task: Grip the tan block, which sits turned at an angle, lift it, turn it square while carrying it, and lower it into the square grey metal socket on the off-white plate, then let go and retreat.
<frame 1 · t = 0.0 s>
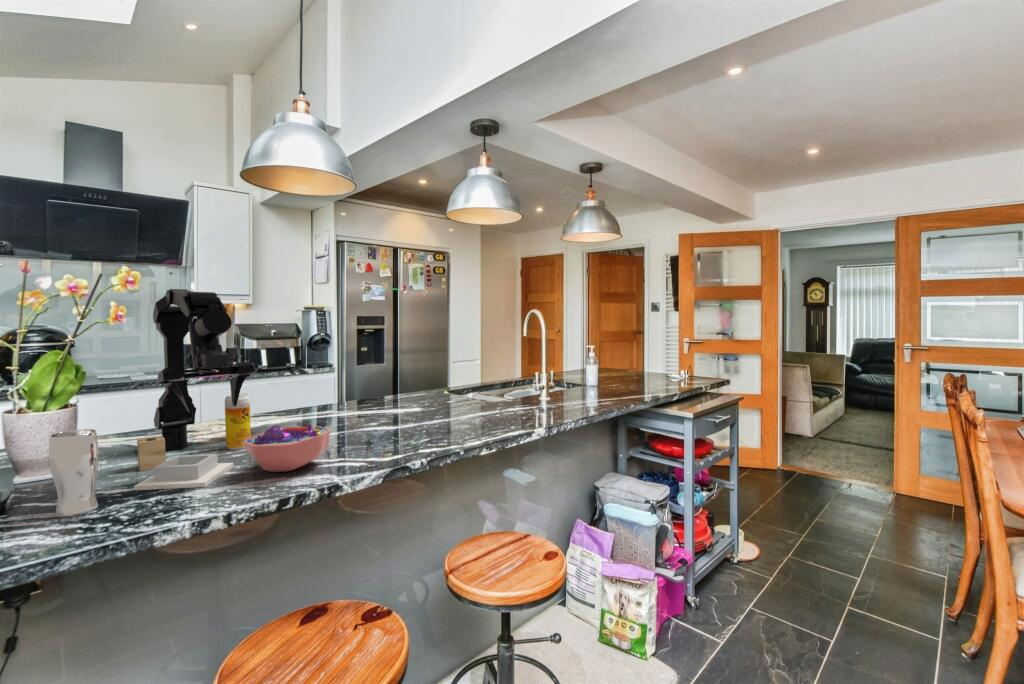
hand: (213, 409, 111), 15 cm above the countertop, tool pointing down, fingers open, 9 cm apart
tan block: (152, 466, 117), on the countertop
socket plate: (187, 477, 109), on the countertop
beer glass: (77, 511, 91), on the countertop
cell model: (289, 468, 116), on the countertop
beer can: (239, 448, 134), on the countertop
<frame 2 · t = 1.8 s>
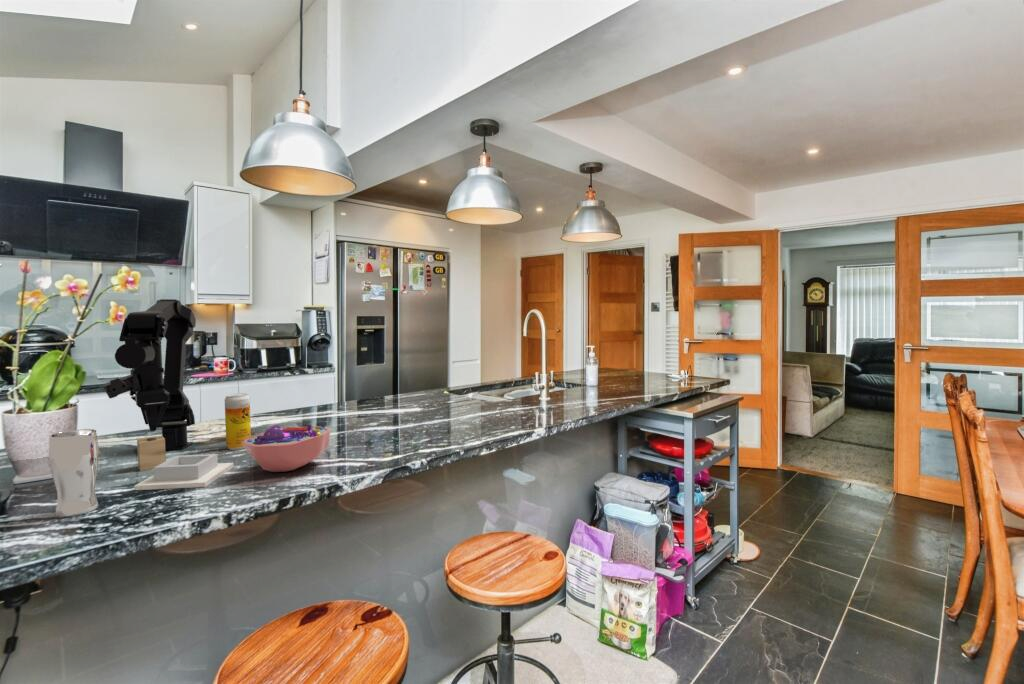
hand: (150, 427, 117), 10 cm above the countertop, tool pointing down, fingers open, 9 cm apart
nothing on the countertop moved.
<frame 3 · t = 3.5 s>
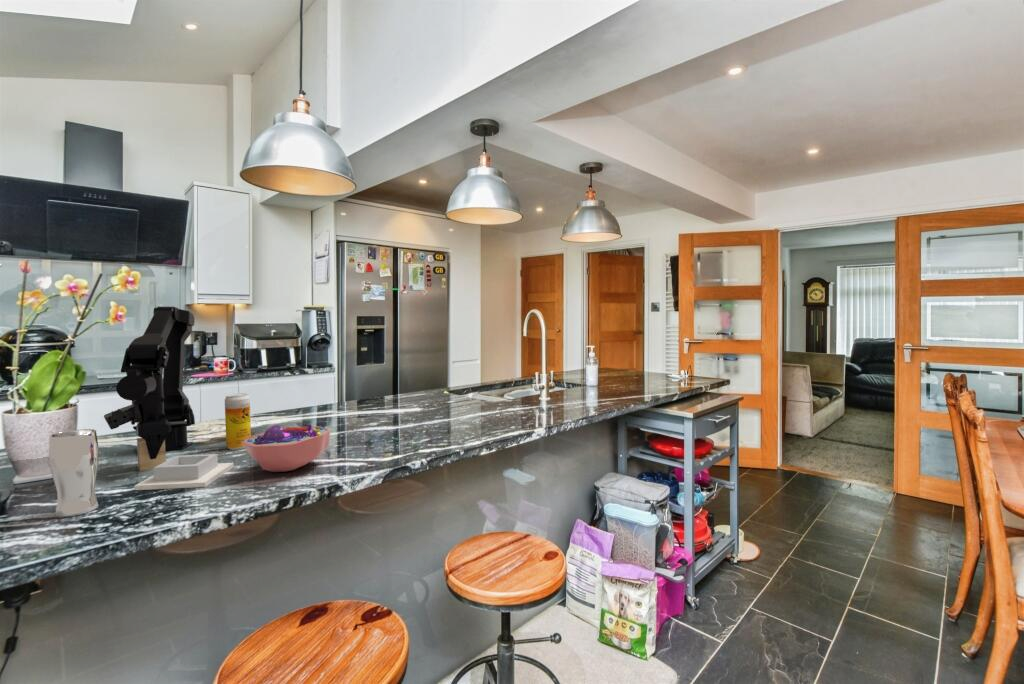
hand: (151, 456, 117), 3 cm above the countertop, tool pointing down, fingers closed on tan block, 5 cm apart
tan block: (152, 466, 117), on the countertop, touching gripper
everything else where it was.
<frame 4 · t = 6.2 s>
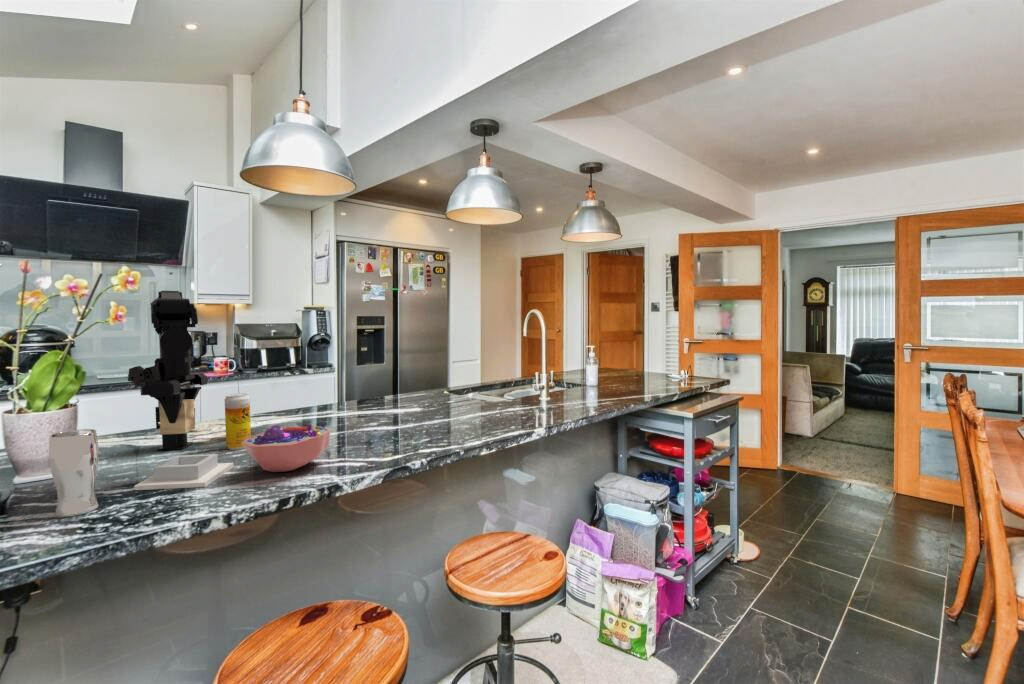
hand: (178, 420, 110), 13 cm above the countertop, tool pointing down, fingers closed on tan block, 5 cm apart
tan block: (178, 431, 110), point 10 cm above the countertop, touching gripper
everything else where it was.
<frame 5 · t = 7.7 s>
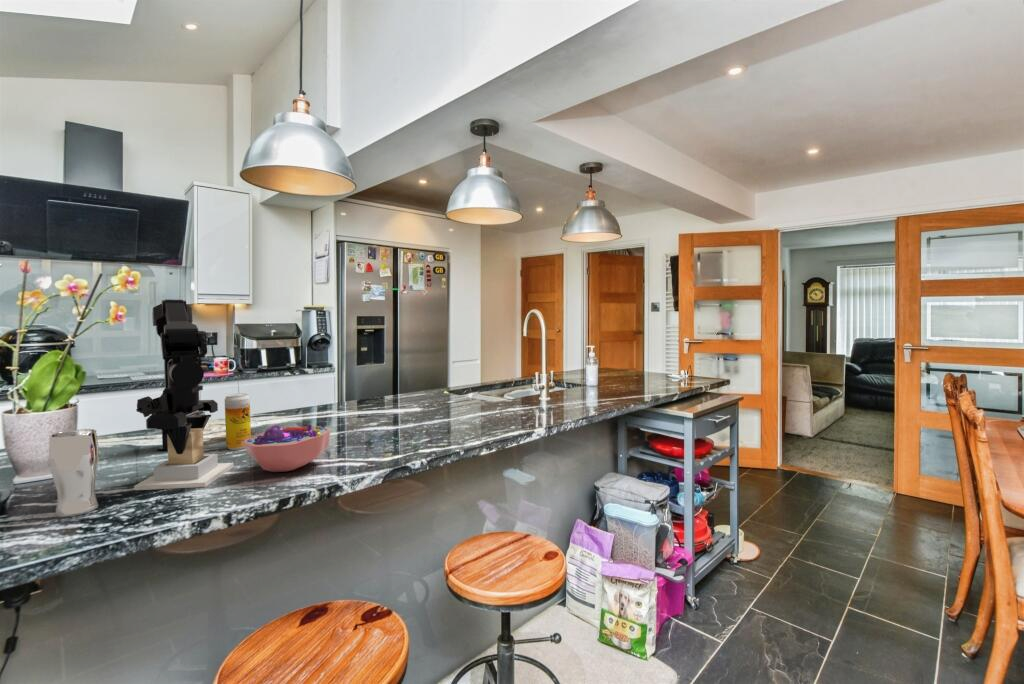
hand: (186, 450, 109), 6 cm above the countertop, tool pointing down, fingers closed on tan block, 5 cm apart
tan block: (186, 461, 109), point 4 cm above the countertop, touching gripper
everything else where it was.
when the fingers open (4 cm above the countertop, at t = 8.8 s): tan block stays where it is, resting on socket plate.
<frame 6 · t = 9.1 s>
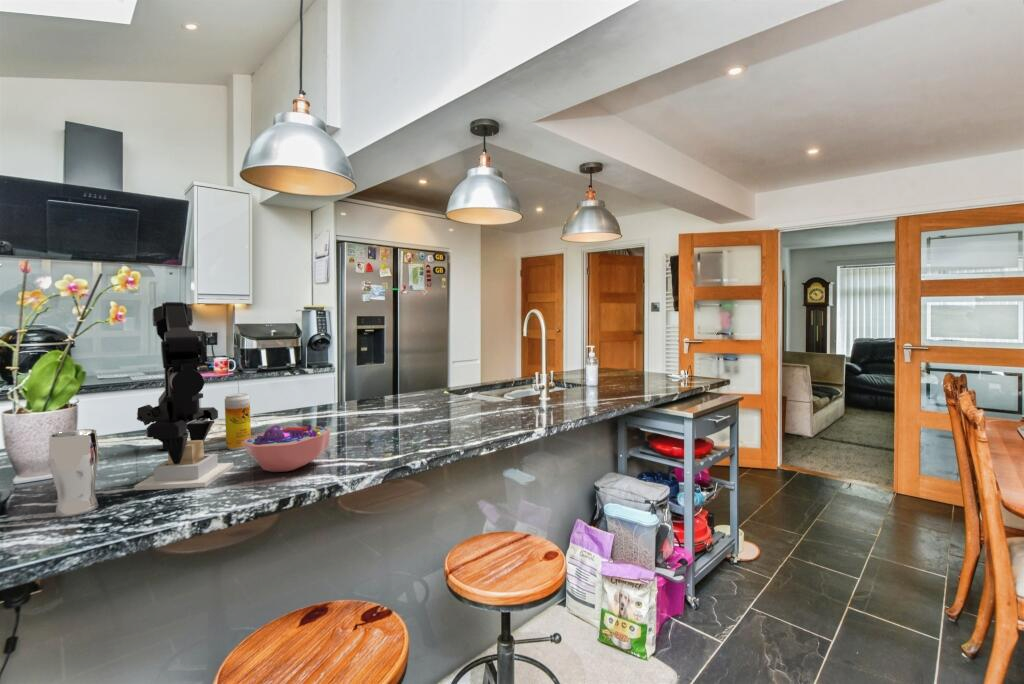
hand: (186, 458, 109), 4 cm above the countertop, tool pointing down, fingers open, 8 cm apart
tan block: (187, 473, 109), point 1 cm above the countertop, touching socket plate
everything else where it was.
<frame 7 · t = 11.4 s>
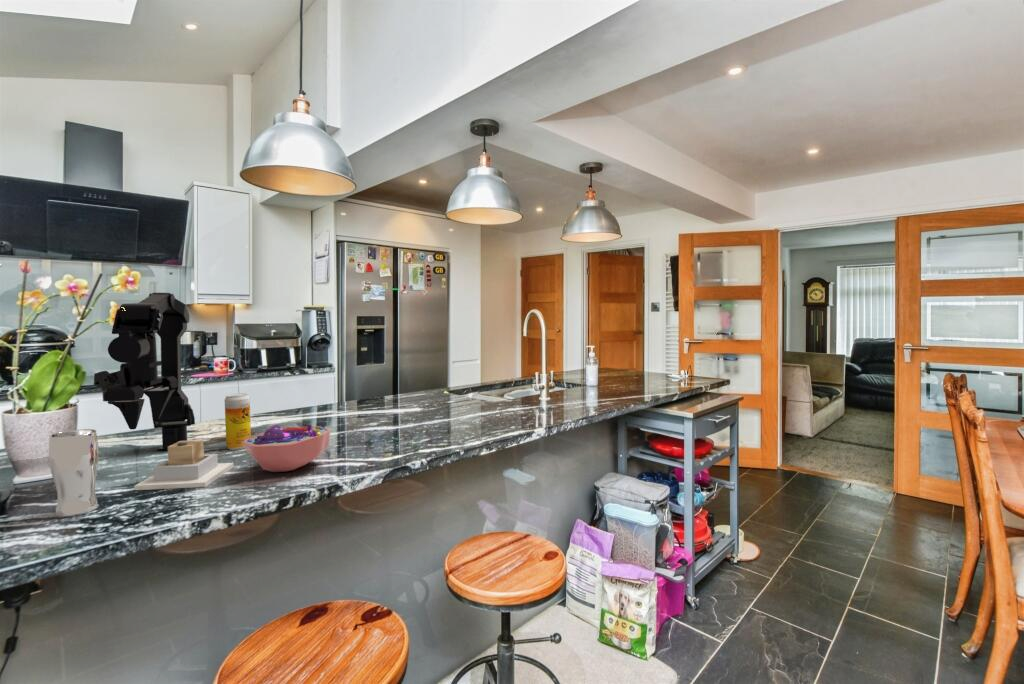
hand: (145, 424, 112), 12 cm above the countertop, tool pointing down, fingers open, 9 cm apart
nothing on the countertop moved.
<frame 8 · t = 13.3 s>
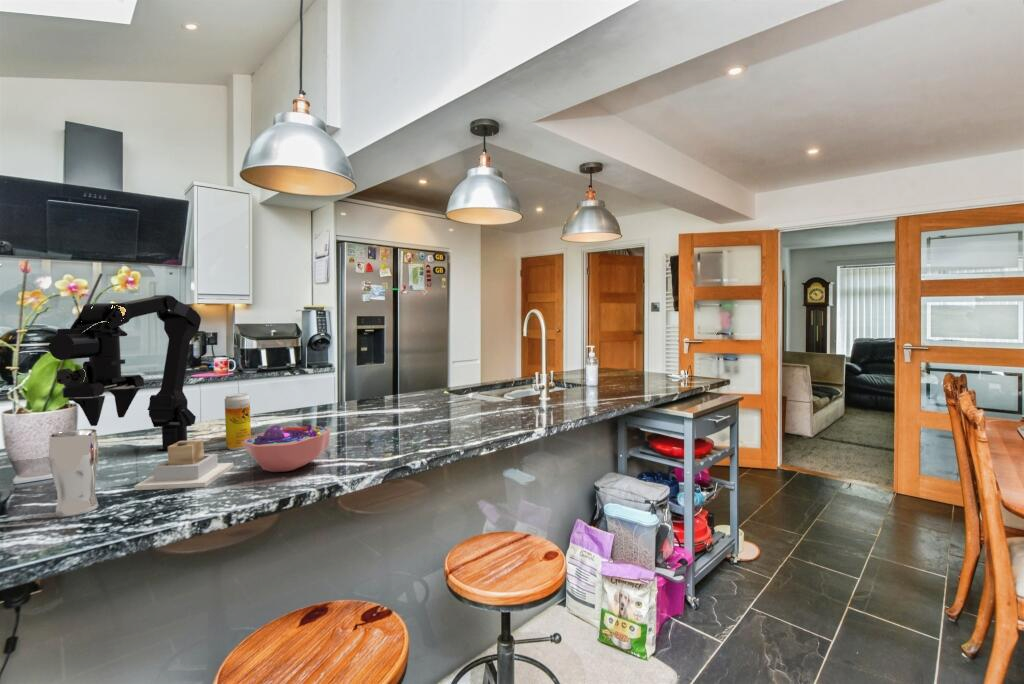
hand: (108, 421, 114), 12 cm above the countertop, tool pointing down, fingers open, 9 cm apart
nothing on the countertop moved.
at the end: tan block 0.1 cm off-centre on the socket plate, point 1.0 cm above the socket plate's base; tan block tilted 0°; the gripper is holding nothing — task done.
